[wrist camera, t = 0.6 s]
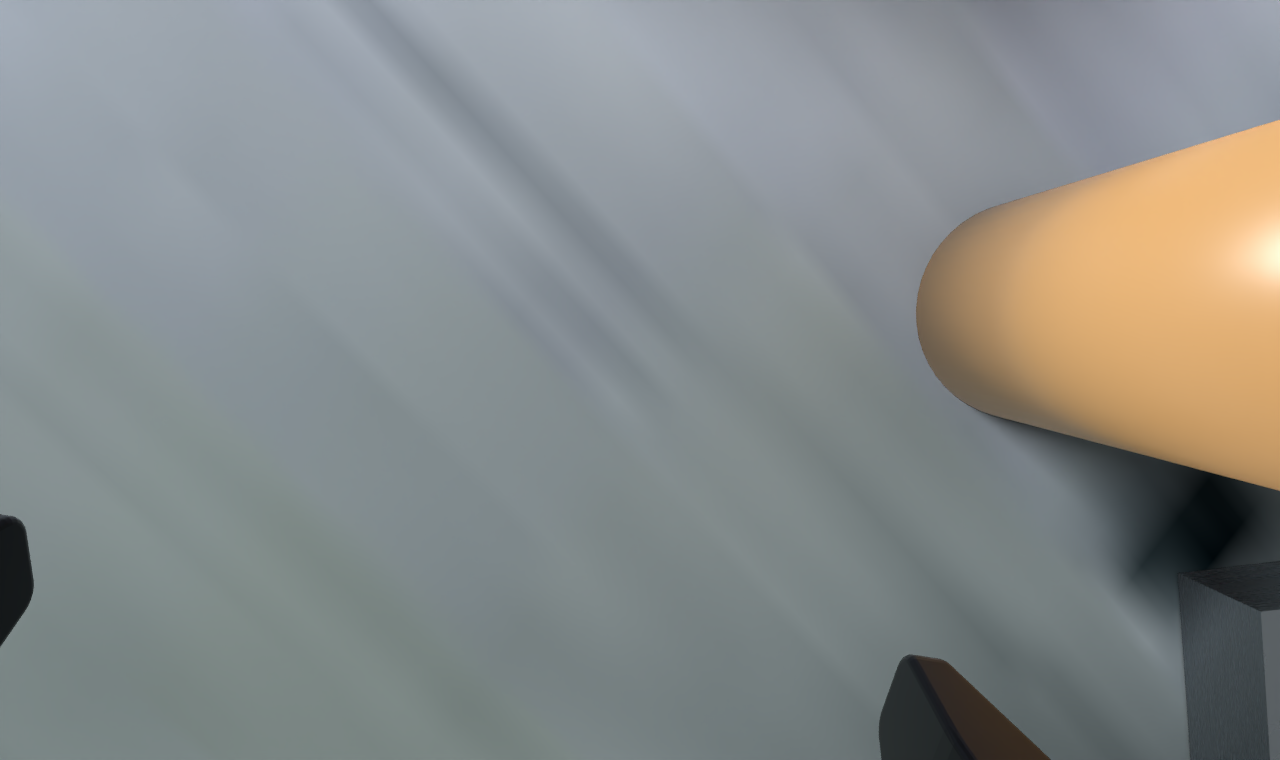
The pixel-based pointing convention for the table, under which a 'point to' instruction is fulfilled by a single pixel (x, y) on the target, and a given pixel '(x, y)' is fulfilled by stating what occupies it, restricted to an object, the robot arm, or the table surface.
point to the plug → (1126, 308)
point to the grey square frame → (1232, 661)
